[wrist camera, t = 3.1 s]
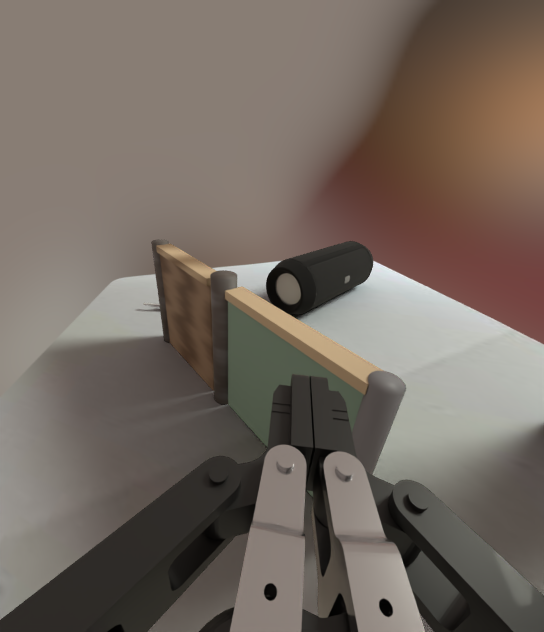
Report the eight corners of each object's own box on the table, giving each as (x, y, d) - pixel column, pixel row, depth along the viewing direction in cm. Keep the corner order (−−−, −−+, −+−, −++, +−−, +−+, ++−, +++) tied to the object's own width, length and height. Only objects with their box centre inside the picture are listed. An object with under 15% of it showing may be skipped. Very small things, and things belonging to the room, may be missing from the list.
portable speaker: (303, 328, 49) (311, 271, 44) (260, 307, 54) (263, 254, 49) (370, 289, 66) (382, 245, 61) (333, 276, 71) (341, 235, 66)
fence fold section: (225, 405, 32) (224, 290, 25) (240, 397, 33) (243, 285, 26) (342, 537, 22) (394, 401, 15) (358, 519, 23) (412, 385, 16)
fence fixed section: (160, 337, 43) (146, 236, 36) (176, 333, 44) (165, 234, 37) (221, 407, 32) (219, 282, 25) (239, 398, 34) (242, 277, 26)
